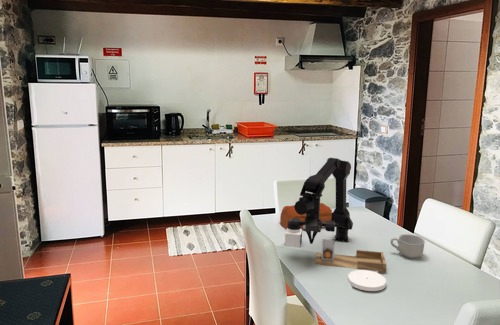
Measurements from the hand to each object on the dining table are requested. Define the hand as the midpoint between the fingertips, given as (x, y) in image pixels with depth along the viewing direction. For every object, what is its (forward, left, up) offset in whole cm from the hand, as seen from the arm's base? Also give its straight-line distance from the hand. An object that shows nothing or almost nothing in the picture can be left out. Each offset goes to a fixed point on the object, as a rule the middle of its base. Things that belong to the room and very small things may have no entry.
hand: (311, 243), depth 176 cm
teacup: (-15, +41, -8) cm, 44 cm away
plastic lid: (+16, +22, -8) cm, 28 cm away
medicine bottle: (-14, -9, -8) cm, 18 cm away
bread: (-43, -5, -8) cm, 44 cm away
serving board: (0, +16, -7) cm, 18 cm away
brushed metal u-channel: (0, +7, -6) cm, 9 cm away
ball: (0, +7, -4) cm, 8 cm away
